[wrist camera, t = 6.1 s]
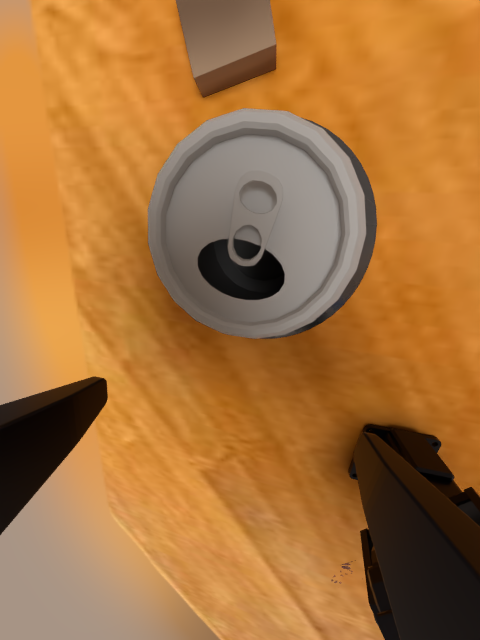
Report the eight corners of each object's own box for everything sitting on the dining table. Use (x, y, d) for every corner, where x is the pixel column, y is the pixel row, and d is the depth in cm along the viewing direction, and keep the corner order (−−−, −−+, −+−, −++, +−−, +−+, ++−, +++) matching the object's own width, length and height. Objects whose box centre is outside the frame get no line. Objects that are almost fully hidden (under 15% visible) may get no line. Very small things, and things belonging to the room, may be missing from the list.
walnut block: (276, 68, 15) (276, 44, 13) (203, 97, 16) (193, 78, 14) (260, -37, 14) (257, -81, 12) (181, 2, 15) (167, -34, 13)
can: (207, 275, 19) (111, 319, 8) (229, 174, 17) (138, 32, 6) (295, 302, 19) (324, 387, 8) (331, 202, 17) (453, 113, 5)
